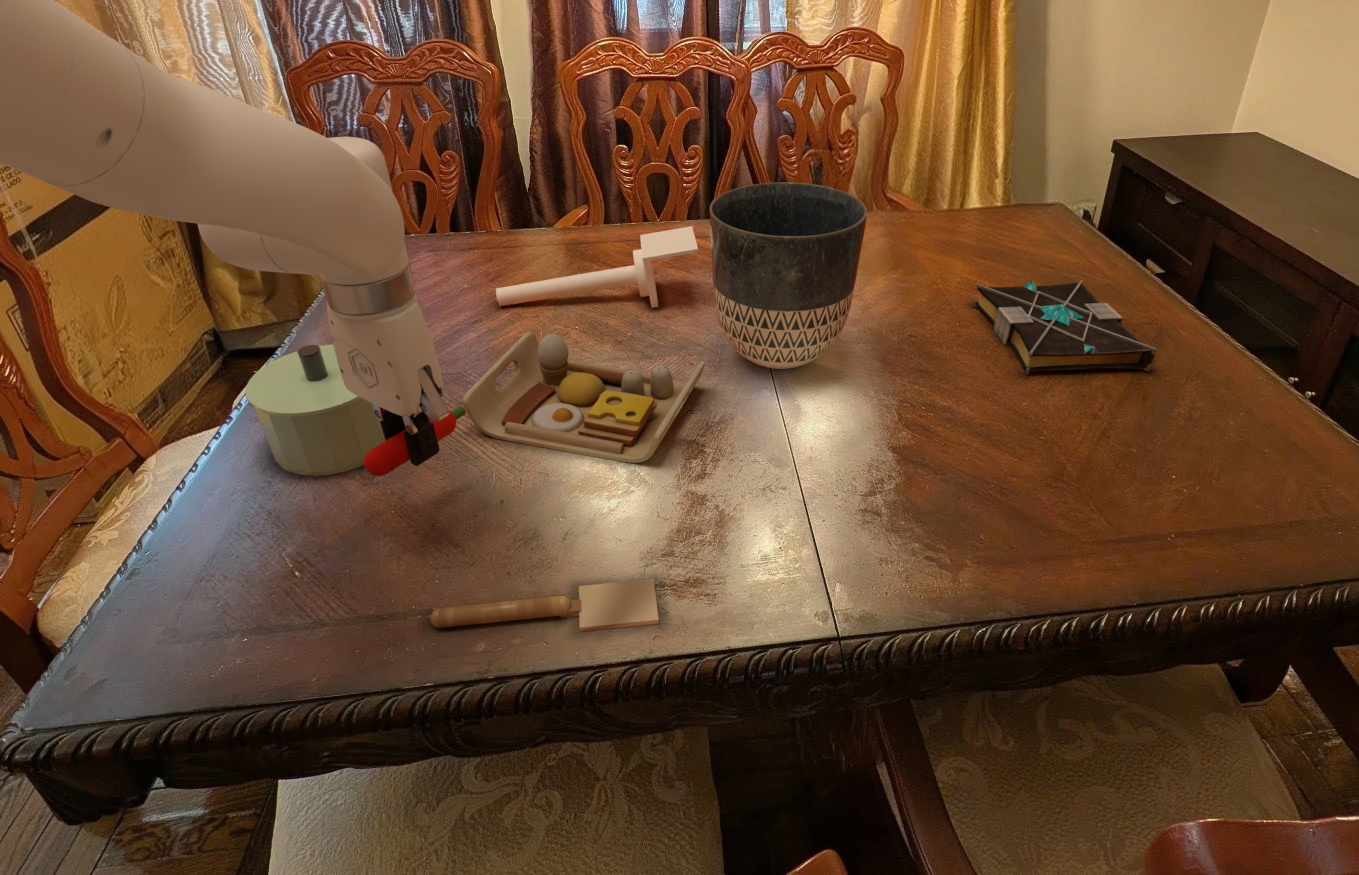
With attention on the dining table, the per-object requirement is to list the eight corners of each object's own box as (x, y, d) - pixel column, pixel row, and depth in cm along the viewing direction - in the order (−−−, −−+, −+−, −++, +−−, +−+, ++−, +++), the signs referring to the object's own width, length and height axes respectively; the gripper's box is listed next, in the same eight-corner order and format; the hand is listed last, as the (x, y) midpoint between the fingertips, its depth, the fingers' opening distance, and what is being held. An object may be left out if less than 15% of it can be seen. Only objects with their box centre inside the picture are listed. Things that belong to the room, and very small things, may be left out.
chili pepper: (380, 485, 77) (372, 462, 76) (362, 475, 79) (354, 452, 77) (474, 425, 85) (469, 403, 84) (456, 416, 87) (451, 395, 85)
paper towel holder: (697, 248, 119) (487, 284, 120) (705, 301, 125) (503, 335, 125) (692, 226, 127) (494, 259, 128) (699, 276, 132) (508, 308, 133)
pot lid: (300, 437, 85) (286, 401, 82) (221, 394, 92) (207, 359, 89) (415, 374, 95) (407, 340, 92) (336, 340, 102) (326, 307, 100)
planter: (686, 376, 108) (684, 223, 96) (738, 315, 123) (742, 175, 110) (826, 407, 102) (843, 246, 89) (864, 338, 116) (883, 192, 103)
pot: (322, 491, 90) (299, 429, 85) (249, 448, 97) (224, 389, 92) (424, 429, 99) (409, 370, 94) (351, 394, 106) (334, 337, 101)
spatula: (428, 647, 72) (424, 634, 70) (436, 604, 76) (432, 591, 75) (659, 623, 73) (658, 610, 72) (653, 582, 77) (653, 569, 76)
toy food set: (467, 434, 98) (456, 381, 94) (534, 362, 112) (526, 313, 108) (662, 470, 92) (660, 415, 87) (707, 389, 106) (707, 338, 101)
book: (1150, 372, 107) (1162, 339, 104) (1025, 377, 106) (1033, 344, 104) (1077, 300, 124) (1086, 270, 122) (970, 304, 124) (976, 274, 121)
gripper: (278, 280, 72) (334, 444, 83) (394, 327, 65) (439, 501, 75) (349, 252, 77) (393, 410, 88) (464, 293, 69) (497, 461, 80)
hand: (414, 451), depth 82 cm, fingers closed on chili pepper, 2 cm apart
